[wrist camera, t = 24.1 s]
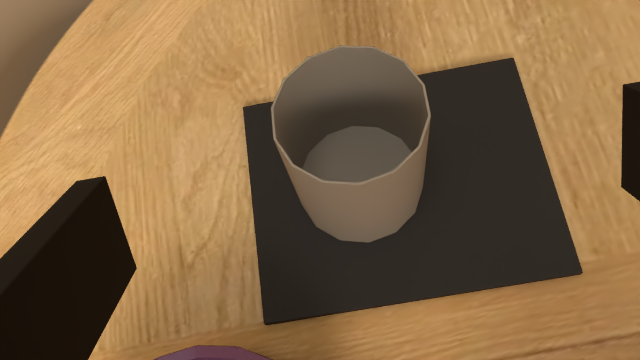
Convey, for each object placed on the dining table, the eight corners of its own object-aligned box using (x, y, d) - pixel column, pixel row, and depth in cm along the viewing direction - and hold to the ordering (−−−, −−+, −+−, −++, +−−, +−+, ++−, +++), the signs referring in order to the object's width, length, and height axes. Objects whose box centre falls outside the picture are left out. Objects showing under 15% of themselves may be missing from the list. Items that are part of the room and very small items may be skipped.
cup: (360, 268, 38) (349, 218, 29) (274, 187, 41) (239, 118, 31) (448, 178, 39) (463, 104, 30) (359, 107, 42) (349, 19, 33)
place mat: (265, 325, 38) (264, 324, 37) (244, 110, 44) (242, 106, 43) (580, 274, 36) (583, 272, 36) (512, 61, 43) (513, 57, 42)
